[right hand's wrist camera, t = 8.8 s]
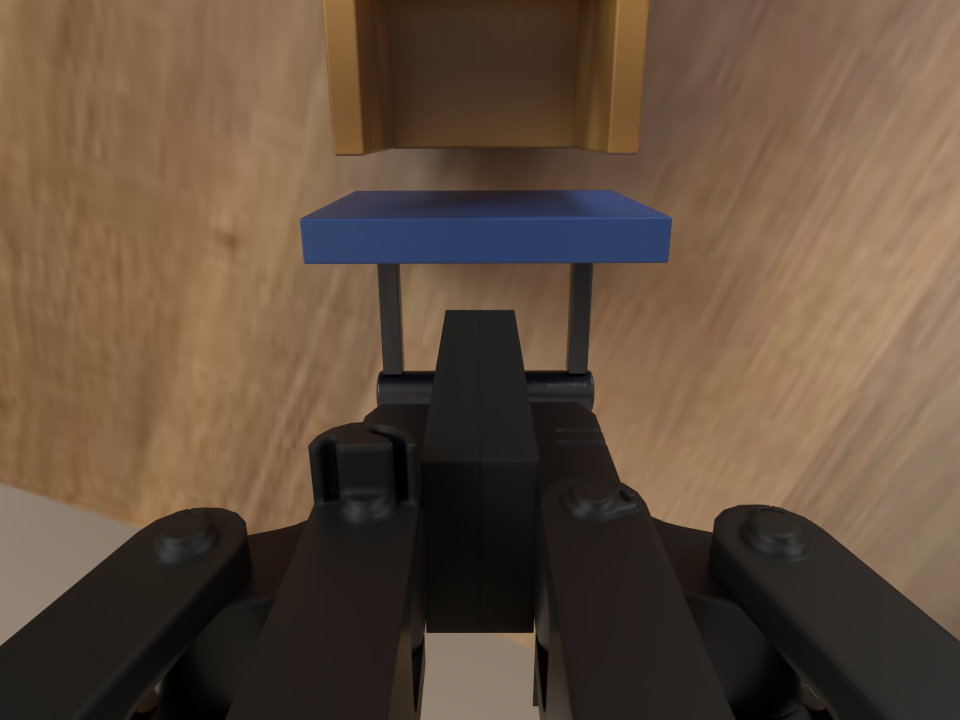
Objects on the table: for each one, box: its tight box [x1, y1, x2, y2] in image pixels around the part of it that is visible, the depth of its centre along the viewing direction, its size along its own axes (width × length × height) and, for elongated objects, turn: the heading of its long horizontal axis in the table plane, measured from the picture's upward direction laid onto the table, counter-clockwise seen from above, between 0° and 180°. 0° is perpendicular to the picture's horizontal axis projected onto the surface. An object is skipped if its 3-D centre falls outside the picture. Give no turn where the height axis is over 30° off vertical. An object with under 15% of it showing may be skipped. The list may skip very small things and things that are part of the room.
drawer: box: [300, 0, 672, 411], centre depth 19 cm, size 24×10×8 cm, turn 0°
